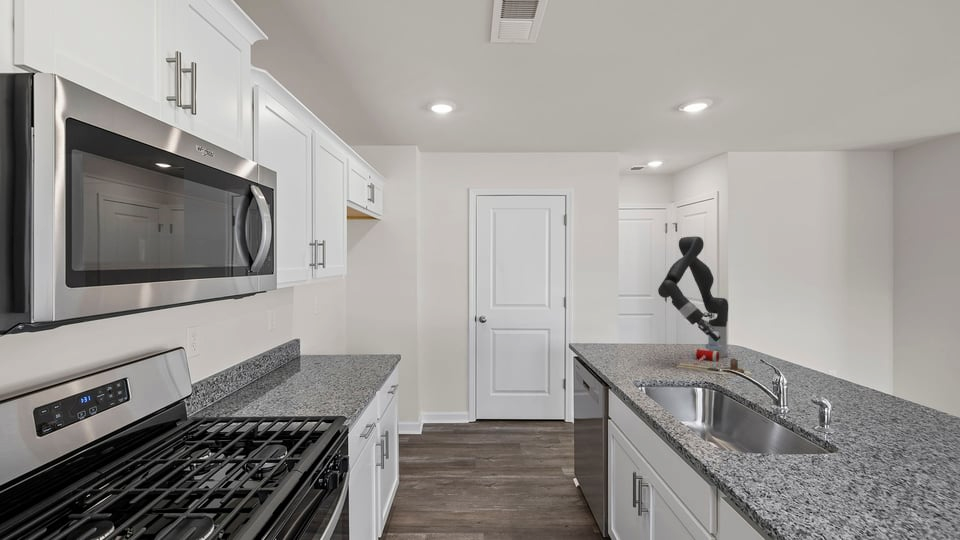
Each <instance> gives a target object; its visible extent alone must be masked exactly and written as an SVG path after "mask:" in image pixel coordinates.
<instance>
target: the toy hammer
mask: <svg viewBox="0 0 960 540" xmlns="http://www.w3.org/2000/svg"><path fill="white" fill-rule="evenodd" d="M692 358H693V360H696V362H694V363H693V364H694V365H699V364H701V362H703V361H707V362H714V363H715V362H716V363H718V362H719V361H720V357H719V352H718V351H708V350H707V349H705V350H704V349H699V348H697V347H696V348H693V351H692ZM697 359H698V360H697Z"/></svg>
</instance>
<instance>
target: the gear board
mask: <svg viewBox="0 0 960 540" xmlns="http://www.w3.org/2000/svg"><path fill="white" fill-rule="evenodd" d="M674 368H675V369H681V370H687V371H689V370H690V371H695V372H696V371H697V372H698V371H699V372H705V373H710V374H711V373H713V374H720V375H729V376H734V377H738V376H737V375H734V374H731V373H727V372H723V371H717V368H720V367H718V366H710V365H709V366H708V365H699V364H697V365H694V363H683V362H680V363H678V364H677V365H676V366H675V367H674ZM750 372H751V371H750V370H744V374H746V375H748V376H749V375H750Z"/></svg>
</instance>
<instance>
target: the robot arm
mask: <svg viewBox="0 0 960 540" xmlns="http://www.w3.org/2000/svg"><path fill="white" fill-rule="evenodd" d="M678 248H679V251H680V253H681V255H682V257H681V258H679V259H678V260H676V261H675V262H674V263H673V264H672V265H671V267H670V268H669V270H668V272H667V274H666V275H665V278H664V279H663V281H662V282H661V284H660V286H659V287H658V289H657V292H658V295H659V296H660V297H661V298H665V299H667V298H670V299H671V304H672V305H673V306H674V308H676V310H678V311H679V312H680V314H681V315H682V316H683V317H684V319H686V320H687V321H688V322H689V323H690V325H692V326H693V325H695V324H697V327H698V328H699V330H700V331H702V332H703V333H704V334H705V335H706V336H707V337H708V340H707V341H708V343H707V344H709V336H710V337H711V338H712V339H713V340H714V341H718V340H719V345H722V349H721V350H712V349H707V351H718V352H719V358H727V355H728V353H727V352H728V351H727V349H728V347H727V346H728V345H727V342H728V341H727V340H728V337H727V336H728V334H727V330H728V329H727V325H728V319H729V302H728V299H727V298H725V297H724V298H723V297H714V296H713V295H712V293H711V289H712V286H713V284H714V276H713V273H712V271H711V269H710V267H709V266H708V265H707V264H706V263H704V261H702V260H700V259H699V258H698V256H699V255H700V254H701V253H702V251H703V248H704V240H703V238H702V237H700V236H696V235H695V236H684V237H681V238H680V239H679V240H678ZM688 268H689V269H690V272H691V274H692V277H693V279H694V281H695V284H696V286H697V288H698V290H699V293H700V295H701V299H702V302H703V305H704V308H705V310H706V312H707V313H708V314H715V315H716V317H715V318H713V319H712V318H711V319H709V320H708V321H707V320H706V319H703V317H705V314H704V313H703V312H702V311H701V310H700V309H699V308H698V307H697V306H696V305H695V304H694V303H692V302H691V301H690V300H689V299H688V298H687V297H686V296H685V295H684V294H683V292H682V290H681V288H680V287H679V286H678V283H679V282H680V281H681V280H682V278H683V277H684V274H685V273H686V271H687V269H688ZM713 331H714V332H719V338H718V337H717V336H716V335H715V334H714V333H713Z"/></svg>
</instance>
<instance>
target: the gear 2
mask: <svg viewBox="0 0 960 540" xmlns="http://www.w3.org/2000/svg"><path fill="white" fill-rule="evenodd" d="M738 360H739V359H737V358H735V357H734V358H731V359H730V360H729V362H730V364H729V365H730V366H728V367H723V368H724V369H730V370H734V371H738V372H741V373H744V371H745V369H743V368H741V367H739V362H738ZM727 373H729V372H727Z"/></svg>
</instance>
